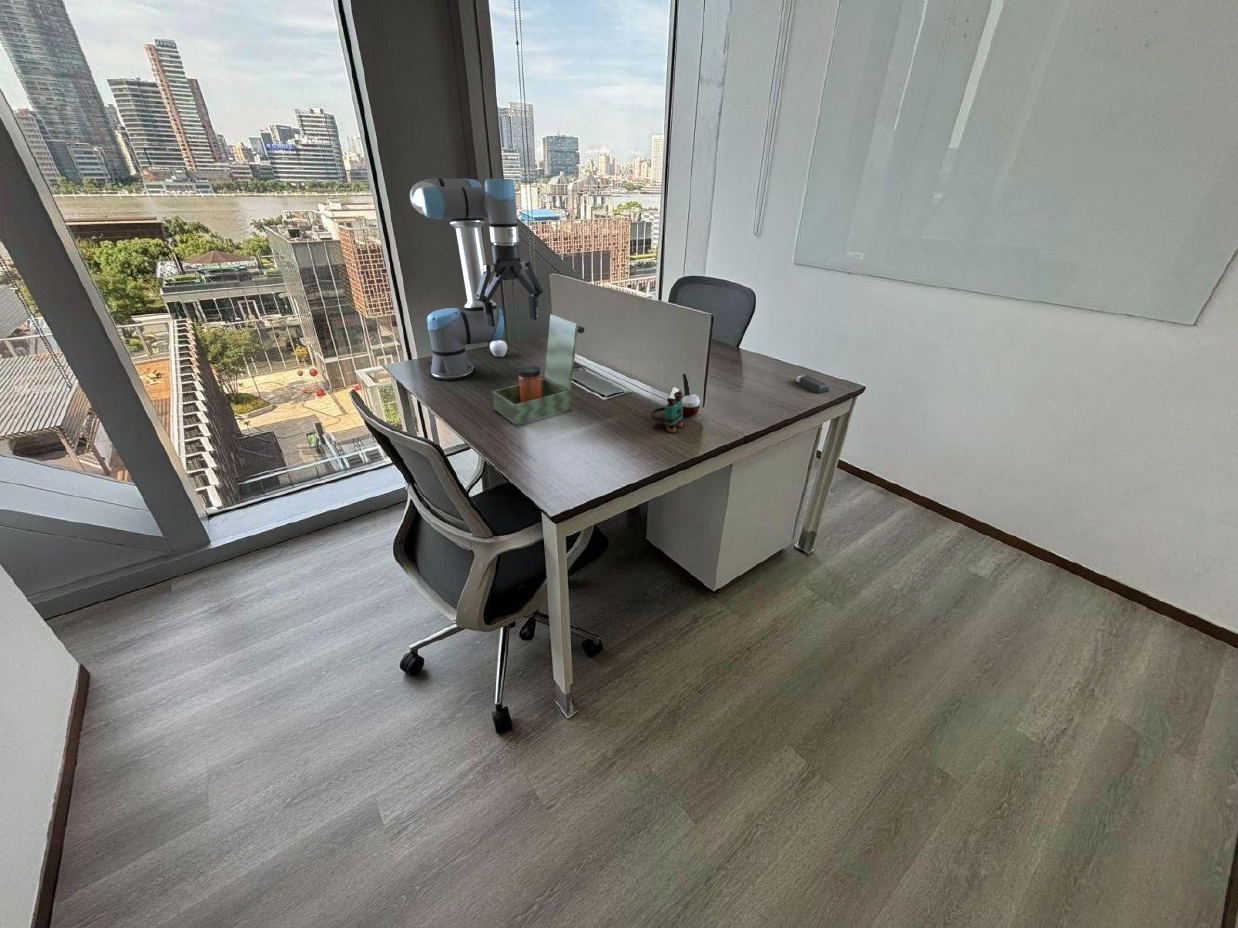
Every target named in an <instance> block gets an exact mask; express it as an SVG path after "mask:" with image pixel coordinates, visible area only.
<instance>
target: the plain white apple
mask: <svg viewBox="0 0 1238 928" xmlns="http://www.w3.org/2000/svg"><path fill="white" fill-rule="evenodd" d="M489 349H490V352H491V353H492V355H493V356H495V357H496V358H503V357H505V356H506V353H507V351H508V344H507V342H506V341H504V340H501V339H500V340H498V341H492V342H490V344H489Z"/></svg>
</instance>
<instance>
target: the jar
mask: <svg viewBox="0 0 1238 928" xmlns="http://www.w3.org/2000/svg"><path fill="white" fill-rule="evenodd" d="M517 378H518V385H519V389H520V400H521V403H523V402H527V401H531V400H534V399H538V398H542V397H543V396H542V381H541V379H542V374H541V368H540V366H537V365H531V364H530V365H529V364H528V365H522V366H520V367H519V368H518V376H517Z"/></svg>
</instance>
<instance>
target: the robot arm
mask: <svg viewBox="0 0 1238 928" xmlns="http://www.w3.org/2000/svg"><path fill="white" fill-rule="evenodd" d="M515 189H516V188H515V182H514V180H512V179H511V178H487V179H485V181H484V186H482V184H481V183H480V181H479V180H477V179H471V178H466V177H465V178H438V177H436V178H434V177H433V178H426V179H423V180H420V181H418V182H416V183H414V184H413V185H412V187H411V189H410V191H409V199H410V203H411V205H412V207H413V209H414V210H415V211H417V213H419V214H421V215H424V216H425V217H426V218H428V219H436V220H442V219H449V224H450V226H451V227H452V228H454V229H455V233H456V239H457V245H458V253H459V257H460V264H461V270H462V275H463V276H462V277H463V282H464V289H465V294H466V299H467V300H466V303H465V304H464V306H463V307H464V311H460V309H459V307H458V308H457V307H446V308H440V309H437V310H434V311H432V312H431V313H429V314H428V315H427V317H426V322H427V330H428V333H429V338H430V339H429V340H430V345H431V350H432V359H428V362H430V363H431V367H430V375H431V377H432V378H434V379H436V380H440V381H454V380H461V379H465V378H468V377H470V376H472V375H473V373H474V365H473V364H472V362H471V360H470V358H469V356H468V353H467V352H466V351H467V350H466V346H467V345H475V344H483V343H491V342H492V341H499V340H501V339H502V338H503V335H504V331H505V323H504V322H505V321H504V320H505V319H504V314H503V311H502V309H501V308H499V307H498V305H497V303H496V302H495V301H494V300H492V298H493V296H494V295H495V293H496V291H497V290H498V289H499V286H500V284H502V283H503V281H510V280H512V281H518V282H519V283H520V285H522V286H523V288H524V289H525V290H526V291H527V292H528V293H529V295H528V309H529V310H528V311H529V319H531V320H533V321H537V318H538V317H537V309H538V308H539V301H538V300H539V299H538V298H539V297H540V295H542V294H543V293H544V290H543V288H542V286H541V284H540V282H539V280H538V278H537V276H536V274H535V272H534V270H533V267H532V266H533V265H532V262H531V261H529V260H523V261H521V247H520V244H519V242H520V237H519V225H518V214H517V213H518V211H517V199H516V197H517V193H516V190H515ZM487 218H488V224H489V225H488V226H489V234H490V242H491V243H492V245H491V252H492V253H491V254H492V260H493V264H487V259H486V253H485V247H484V241H483V240H484V239H483V234H482V233H483V232H482V228H483V226H484V224H485V219H487ZM522 269H523V270H524V272H525V274H526V276H527V278H528V280H529V281H530V282H529V281H528V280H527V279H526V278H525V276H524V275H523V274H522V272H521V270H522ZM493 271H494V273H495V274H494V275H493V277H492V280H491V282H490V279H491V275H492V273H493Z"/></svg>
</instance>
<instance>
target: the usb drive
mask: <svg viewBox="0 0 1238 928" xmlns="http://www.w3.org/2000/svg"><path fill="white" fill-rule="evenodd" d="M795 382H797V383H798V385H799V386H800V387H803V388H805V389H807V390H810V391H812V392H813V393H816V394H820V393H825V392H829V389H830V386H829V385H828V384H827V383H826V382H823V381H822V380H819V379H817V378H814V377H812V376H810V375H799V376H796V378H795Z"/></svg>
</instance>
